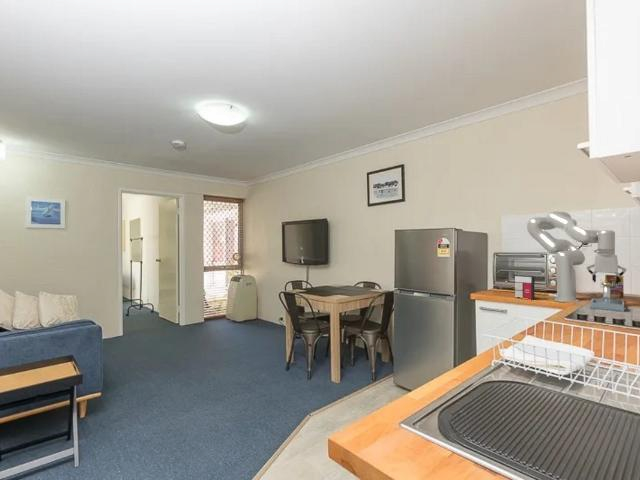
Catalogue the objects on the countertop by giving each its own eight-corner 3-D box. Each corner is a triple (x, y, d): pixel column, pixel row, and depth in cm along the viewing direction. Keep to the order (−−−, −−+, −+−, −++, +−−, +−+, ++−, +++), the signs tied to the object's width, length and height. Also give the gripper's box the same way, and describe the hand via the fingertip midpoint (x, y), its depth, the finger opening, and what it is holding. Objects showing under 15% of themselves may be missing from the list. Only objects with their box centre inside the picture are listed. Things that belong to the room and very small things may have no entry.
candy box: (605, 298, 225) (605, 275, 225) (605, 297, 228) (604, 274, 229) (623, 299, 220) (623, 275, 220) (622, 298, 223) (622, 275, 224)
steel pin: (601, 306, 193) (601, 283, 193) (601, 305, 196) (601, 282, 196) (612, 307, 190) (611, 283, 190) (612, 306, 193) (612, 282, 193)
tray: (590, 308, 191) (590, 302, 191) (592, 304, 204) (592, 298, 204) (623, 311, 181) (623, 305, 181) (624, 306, 195) (624, 300, 195)
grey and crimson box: (514, 298, 229) (513, 275, 229) (517, 297, 231) (516, 275, 232) (532, 300, 220) (531, 276, 220) (535, 299, 223) (534, 276, 223)
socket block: (597, 303, 207) (597, 294, 207) (598, 301, 215) (598, 293, 215) (619, 305, 200) (619, 296, 201) (619, 302, 208) (619, 294, 208)
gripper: (586, 252, 196) (585, 282, 196) (626, 253, 185) (626, 285, 185) (587, 251, 202) (586, 280, 202) (626, 252, 190) (626, 283, 190)
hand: (605, 282), depth 193 cm, fingers open, 9 cm apart
